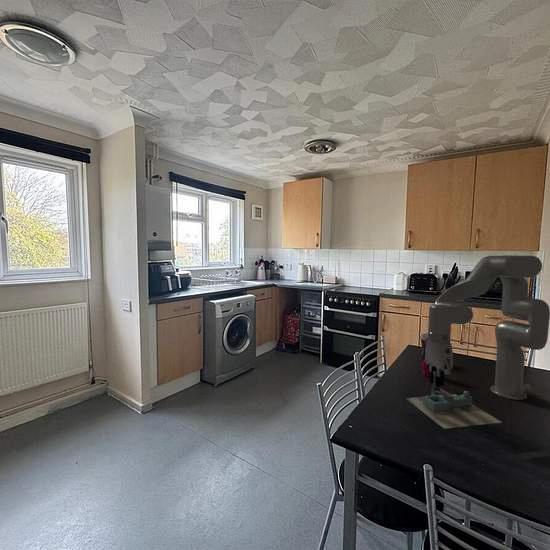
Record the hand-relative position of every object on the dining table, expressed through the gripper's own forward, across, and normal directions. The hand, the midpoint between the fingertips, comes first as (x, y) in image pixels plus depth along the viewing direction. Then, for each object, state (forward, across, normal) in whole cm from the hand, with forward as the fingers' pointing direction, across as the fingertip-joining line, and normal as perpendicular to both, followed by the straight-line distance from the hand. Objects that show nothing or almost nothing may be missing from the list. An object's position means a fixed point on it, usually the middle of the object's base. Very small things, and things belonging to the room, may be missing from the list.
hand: (436, 384), depth 117 cm
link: (+9, 0, -6) cm, 11 cm away
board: (+11, -2, -5) cm, 12 cm away
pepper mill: (+11, +32, -21) cm, 40 cm away
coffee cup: (+10, +49, -33) cm, 60 cm away
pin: (+2, 0, 0) cm, 2 cm away
